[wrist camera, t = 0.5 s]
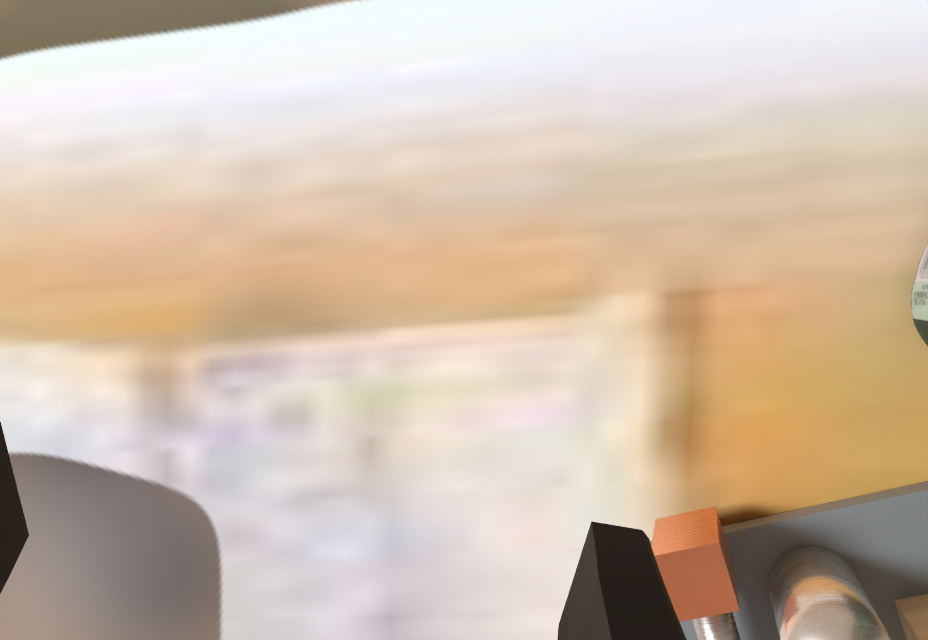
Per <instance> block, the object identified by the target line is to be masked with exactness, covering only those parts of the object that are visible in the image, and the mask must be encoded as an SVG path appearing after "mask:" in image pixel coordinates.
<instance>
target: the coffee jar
mask: <svg viewBox="0 0 928 640" xmlns="http://www.w3.org/2000/svg"><path fill="white" fill-rule="evenodd" d="M911 308H912V315H913V320H914V324H915V326H916V328H917V331H918V332H919V334H920V336H921V337H922V339H923V340H924V342H925V343H926V344H927V346H928V244H927V246H926V248H925V251H924V253H923V256H922V258H921V261H920V263H919V267H918V270H917V273H916V276H915V280H914V284H913V288H912V298H911Z"/></svg>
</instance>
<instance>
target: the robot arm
mask: <svg viewBox="0 0 928 640" xmlns="http://www.w3.org/2000/svg"><path fill="white" fill-rule="evenodd" d="M28 536H29V533H28V529H27V525H26V521H25V517H24V513H23V509H22V506H21V502H20V498H19V494H18V490H17V486H16V482H15V478H14V474H13V470H12V466H11V462H10V458H9V454H8V450H7V446H6V442H5V438H4V434H3V430H2V426H1V422H0V593H1V591H2V589H3V587H4V585H5V583H6V581H7V580H8V578H9V575H10V573H11V571H12V569H13V567H14V565H15V563H16V561H17V559H18V557H19V555H20V553H21V551H22V548H23V546H24V544H25V542H26V540H27V538H28ZM558 640H687V639H686V637H685V634H684V632H683V629H682V627H681V625H680V622H679V620H678V617H677V615H676V612H675V610H674V607H673V605H672V602H671V600H670V597H669V594H668V592H667V589H666V587H665V584H664V581H663V578H662V576H661V573H660V570H659V567H658V565H657V562H656V559H655V556H654V553H653V550H652V547H651V544H650V541H649V538H648V537H647V536H646V534H645V533H644V532H643V531H642V530H638V529H632V528H626V527H621V526H615V525H609V524H603V523H597V522H591V525H590V528H589V531H588V534H587V538H586V541H585V544H584V547H583V550H582V553H581V557H580V560H579V563H578V566H577V569H576V572H575V575H574V579H573V582H572V585H571V588H570V591H569V594H568V598H567V601H566V604H565V607H564V610H563V613H562V616H561V620H560V623H559V629H558Z"/></svg>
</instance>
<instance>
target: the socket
mask: <svg viewBox="0 0 928 640" xmlns="http://www.w3.org/2000/svg"><path fill="white" fill-rule="evenodd" d="M895 603H896V607H897V610H898V613H899V616H900V620H901V623H902V626H903V629H904V633H905V636H906V639H907V640H928V594H925V595H919V596H914V597H908V598H903V599H898V600H895Z"/></svg>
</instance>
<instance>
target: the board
mask: <svg viewBox="0 0 928 640" xmlns="http://www.w3.org/2000/svg"><path fill="white" fill-rule="evenodd" d="M722 529H723V533H724V536H725V539H726V543H727V546H728V549H729V553H730V556H731V559H732V563H733V567H734V574H735V581H736V587H737V594H738V601H739V608H740V611H735V612H733V616H734V619H735V622H736V626H737V629H738V632H739V635H740V639H741V640H780V636H779V632H778V628H777V624H776V620H775V616H774V612H773V608H772V604H771V600H770V596H769V591H768V576H769V572H770V569H771V567H772V565H773V563H774V562H775V561H776V559H777V558H778V557H779V556H780V555H782V554H783V553H784V552H786V551H788V550H789V549H792V548H794V547H798V546H803V545H816V546H821V547H825V548H828V549H830V550H832V551H834V552H836V553H837V554H839V555H840V556H841V557H842V558H844V559H845V560H846V562H847V563H848V564H849V565H850V567H851V568H852V570H853V572H854V574H855V575H856V577H857V579H858V581H859V583H860V584H861V586H862V588H863V590H864V592H865V593H866V595H867V597H868V599H869V601H870V602H871V604H872V606H873V608H874V610H875V611H876V613H877V615H878V617H879V619H880V620H881V622H882V624H883V626H884V628H885V629H886V631H887V633H888V635H889V637H890V638H891V640H907V639H906V636H905V633H904V629H903V626H902V623H901V620H900V616H899V613H898V610H897V607H896V603H895V600H898V599H903V598H908V597H914V596H919V595H925V594H928V481H927V482H922V483H917V484H913V485H908V486H904V487H899V488H894V489H890V490H885V491H881V492H876V493H871V494H867V495H862V496H858V497H853V498H848V499H844V500H839V501H835V502H830V503H825V504H821V505H816V506H812V507H807V508H803V509H798V510H793V511H789V512H784V513H780V514H775V515H770V516H766V517H761V518H757V519H752V520H747V521H743V522H738V523H734V524H729V525H724V526H722ZM650 544H651V547H652V541H651V542H650ZM680 625H681V627H682V629H683V632H684V634H685V637H686V639H687V640H698V639H697V636H696V632H695V629H694V626H693V622H692V620H687V621H682V622H680Z"/></svg>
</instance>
